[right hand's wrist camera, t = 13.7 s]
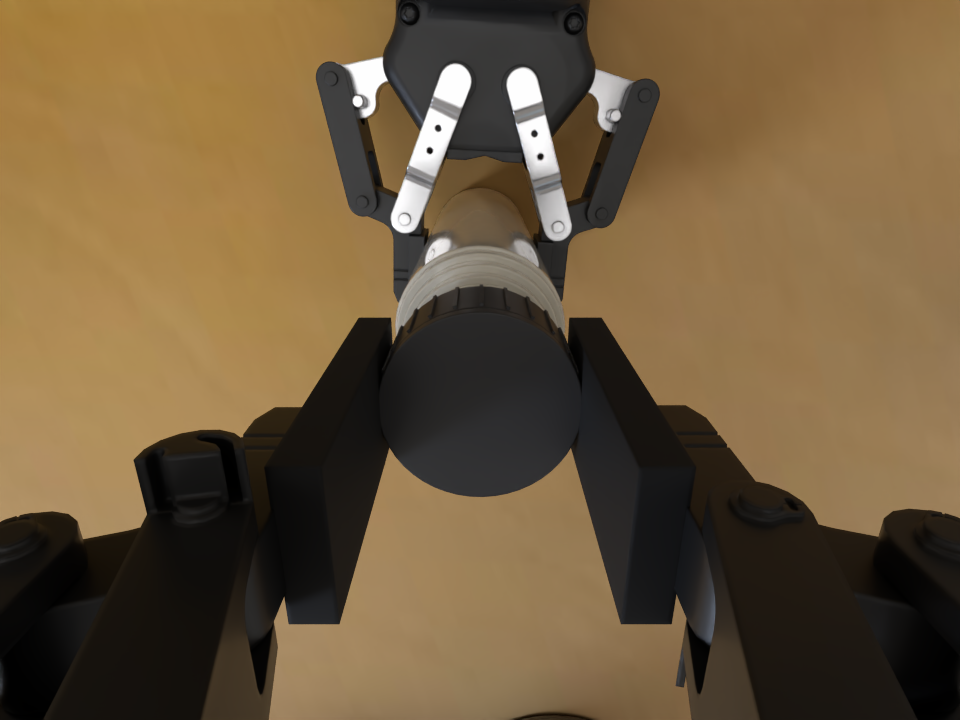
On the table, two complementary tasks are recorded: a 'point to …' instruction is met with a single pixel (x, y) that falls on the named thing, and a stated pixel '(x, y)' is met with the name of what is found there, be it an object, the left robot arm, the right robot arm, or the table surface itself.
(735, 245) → the table surface
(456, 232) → the bottle
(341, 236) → the table surface
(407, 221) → the left robot arm
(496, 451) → the cap
